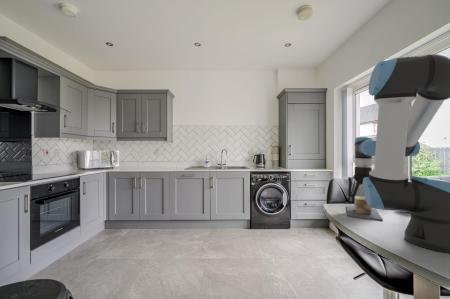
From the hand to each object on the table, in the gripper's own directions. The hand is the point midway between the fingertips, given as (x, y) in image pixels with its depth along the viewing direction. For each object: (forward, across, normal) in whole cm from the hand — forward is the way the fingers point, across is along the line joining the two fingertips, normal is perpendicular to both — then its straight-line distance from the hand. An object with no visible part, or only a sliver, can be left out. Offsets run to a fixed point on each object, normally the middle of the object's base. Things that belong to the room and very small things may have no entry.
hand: (362, 210), depth 111 cm
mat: (+1, 0, 0) cm, 1 cm away
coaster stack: (0, 0, 0) cm, 0 cm away
